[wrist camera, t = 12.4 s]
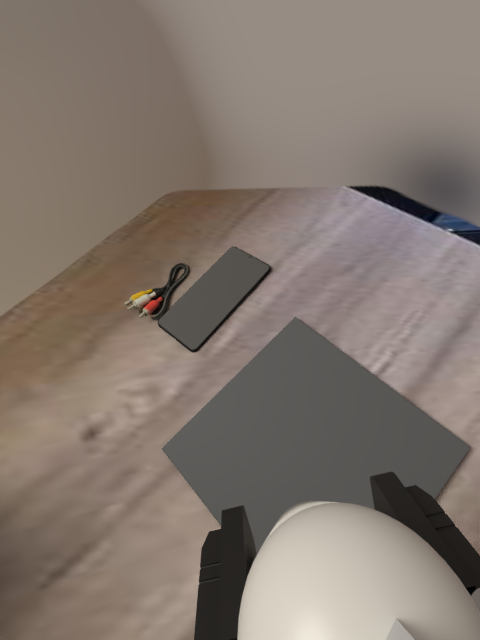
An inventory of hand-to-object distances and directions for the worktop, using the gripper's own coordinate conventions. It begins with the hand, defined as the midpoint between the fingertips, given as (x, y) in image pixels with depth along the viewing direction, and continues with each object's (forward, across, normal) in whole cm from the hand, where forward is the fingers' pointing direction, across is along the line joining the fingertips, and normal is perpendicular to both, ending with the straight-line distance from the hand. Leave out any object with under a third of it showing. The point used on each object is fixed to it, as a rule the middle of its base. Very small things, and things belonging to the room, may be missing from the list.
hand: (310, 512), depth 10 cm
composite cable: (+33, +10, -4) cm, 35 cm away
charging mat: (+17, -2, +11) cm, 21 cm away
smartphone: (+32, +4, -2) cm, 32 cm away
